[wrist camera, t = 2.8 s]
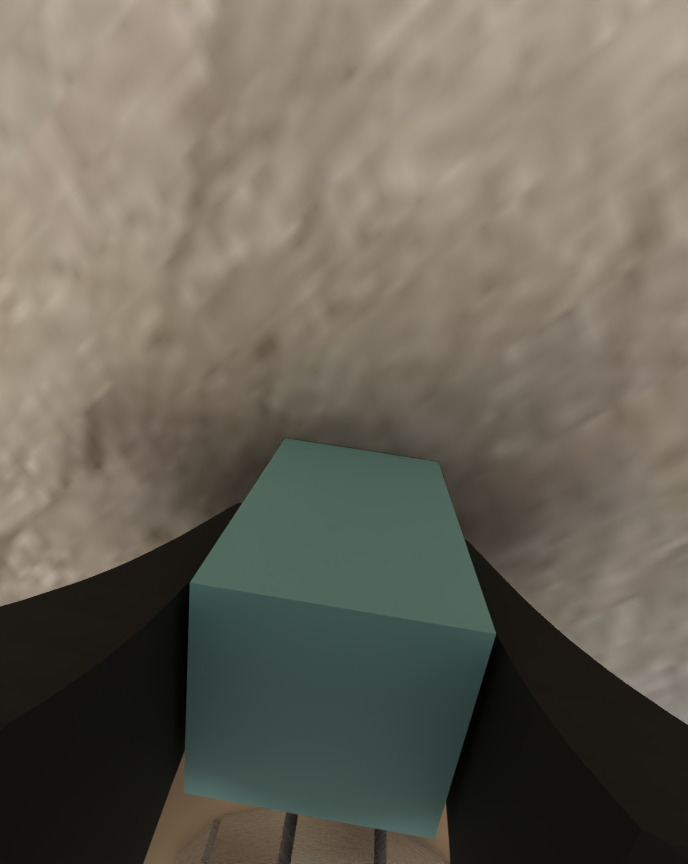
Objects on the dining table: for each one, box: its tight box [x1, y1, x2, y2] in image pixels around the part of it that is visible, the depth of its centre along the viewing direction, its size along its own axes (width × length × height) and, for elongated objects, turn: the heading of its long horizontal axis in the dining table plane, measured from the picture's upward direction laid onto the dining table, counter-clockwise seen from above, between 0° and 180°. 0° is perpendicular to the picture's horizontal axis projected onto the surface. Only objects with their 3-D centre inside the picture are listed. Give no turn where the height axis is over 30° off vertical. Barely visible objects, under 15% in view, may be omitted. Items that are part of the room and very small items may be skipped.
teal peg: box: [184, 438, 496, 839], centre depth 9 cm, size 4×4×6 cm
